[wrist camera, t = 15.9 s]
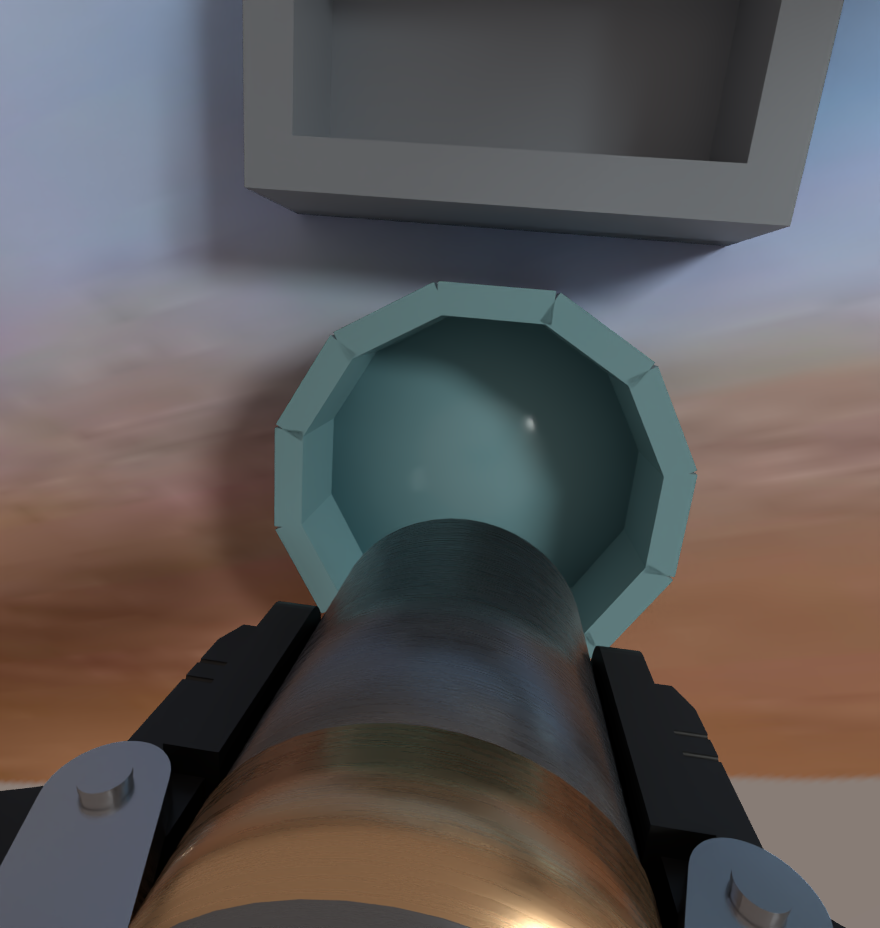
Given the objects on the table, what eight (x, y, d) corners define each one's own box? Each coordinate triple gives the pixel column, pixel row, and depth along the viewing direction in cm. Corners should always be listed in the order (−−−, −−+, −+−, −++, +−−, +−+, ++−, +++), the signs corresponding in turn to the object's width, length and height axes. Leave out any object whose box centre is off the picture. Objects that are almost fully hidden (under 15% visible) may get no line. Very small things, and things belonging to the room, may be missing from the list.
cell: (337, 501, 11) (-82, 967, 3) (602, 532, 10) (889, 1167, 3) (331, 719, 12) (29, 1419, 4) (564, 754, 12) (680, 1603, 4)
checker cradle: (302, -90, 19) (240, -213, 14) (796, -78, 17) (893, -211, 13) (297, 213, 21) (244, 187, 17) (728, 245, 20) (790, 225, 15)
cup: (321, 277, 22) (275, 267, 17) (686, 307, 20) (734, 306, 16) (313, 594, 25) (273, 651, 21) (620, 636, 24) (645, 706, 20)
